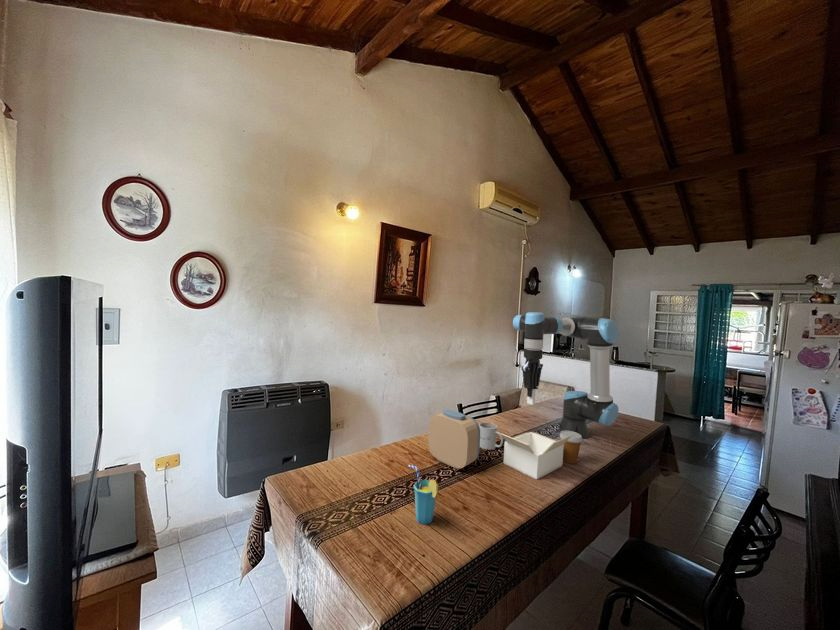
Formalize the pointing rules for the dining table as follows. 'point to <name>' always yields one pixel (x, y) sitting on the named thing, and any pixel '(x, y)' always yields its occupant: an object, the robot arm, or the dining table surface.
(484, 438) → the mug
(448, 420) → the alarm clock
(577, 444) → the disposable coffee cup
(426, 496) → the cup
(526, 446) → the short flap
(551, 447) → the long flap
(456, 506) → the dining table surface
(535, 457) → the carton
